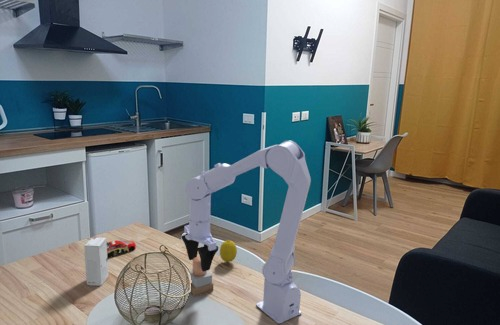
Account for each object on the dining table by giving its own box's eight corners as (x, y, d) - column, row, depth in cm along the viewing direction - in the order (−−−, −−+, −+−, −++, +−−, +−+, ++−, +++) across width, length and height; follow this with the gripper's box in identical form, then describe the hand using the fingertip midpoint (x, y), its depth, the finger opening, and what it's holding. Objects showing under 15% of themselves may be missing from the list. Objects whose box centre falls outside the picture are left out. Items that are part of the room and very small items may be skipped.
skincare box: (101, 286, 104) (100, 246, 101) (85, 285, 103) (83, 245, 101) (109, 275, 110) (107, 237, 107) (93, 274, 110) (92, 236, 107)
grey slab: (211, 283, 104) (212, 274, 103) (196, 288, 101) (196, 279, 100) (203, 275, 108) (203, 267, 107) (187, 279, 105) (188, 271, 104)
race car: (131, 244, 131) (131, 234, 130) (138, 250, 127) (138, 239, 126) (94, 254, 122) (93, 243, 121) (100, 261, 118) (99, 249, 117)
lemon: (237, 259, 123) (238, 237, 121) (235, 267, 118) (235, 244, 116) (221, 258, 123) (221, 235, 122) (218, 265, 118) (218, 242, 116)
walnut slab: (213, 291, 104) (213, 283, 104) (194, 298, 101) (194, 289, 100) (202, 282, 109) (202, 274, 108) (184, 288, 105) (184, 280, 105)
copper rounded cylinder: (209, 274, 104) (209, 261, 103) (196, 277, 101) (197, 264, 101) (202, 268, 107) (202, 255, 106) (189, 271, 104) (190, 258, 104)
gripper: (174, 213, 104) (174, 257, 106) (199, 230, 92) (199, 279, 95) (196, 209, 108) (196, 252, 111) (223, 225, 96) (222, 272, 99)
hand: (199, 264), depth 103 cm, fingers open, 7 cm apart
